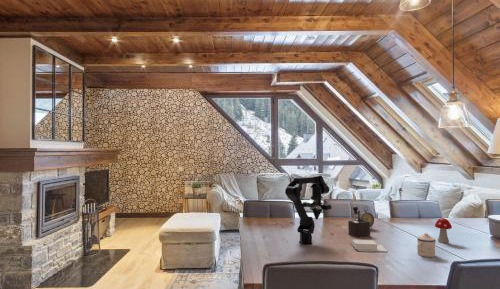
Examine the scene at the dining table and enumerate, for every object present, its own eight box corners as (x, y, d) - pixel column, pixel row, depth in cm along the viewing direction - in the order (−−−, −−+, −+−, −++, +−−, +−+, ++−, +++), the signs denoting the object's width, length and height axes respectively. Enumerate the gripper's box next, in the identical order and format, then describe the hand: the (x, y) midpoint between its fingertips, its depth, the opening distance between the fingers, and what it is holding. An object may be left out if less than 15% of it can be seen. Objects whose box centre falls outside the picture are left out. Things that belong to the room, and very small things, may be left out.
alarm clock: (361, 229, 262) (361, 207, 262) (357, 228, 267) (357, 206, 267) (374, 229, 265) (374, 206, 265) (370, 227, 270) (370, 205, 270)
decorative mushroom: (431, 241, 230) (431, 217, 230) (441, 240, 233) (441, 216, 233) (445, 244, 220) (444, 220, 221) (455, 243, 223) (455, 219, 224)
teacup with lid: (423, 251, 204) (423, 231, 205) (439, 255, 197) (439, 234, 197) (410, 254, 198) (410, 233, 198) (426, 259, 190) (425, 236, 191)
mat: (358, 251, 205) (358, 250, 205) (353, 244, 219) (353, 243, 219) (387, 252, 203) (387, 251, 203) (381, 245, 217) (381, 244, 217)
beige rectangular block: (355, 243, 207) (377, 244, 206) (352, 239, 217) (372, 240, 216) (355, 249, 207) (377, 249, 206) (352, 244, 217) (372, 245, 216)
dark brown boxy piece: (371, 236, 243) (371, 209, 243) (358, 237, 238) (358, 209, 238) (355, 231, 257) (355, 205, 257) (343, 232, 252) (343, 206, 253)
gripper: (297, 194, 232) (297, 219, 232) (321, 197, 219) (321, 223, 218) (307, 193, 240) (307, 216, 239) (332, 195, 226) (332, 220, 226)
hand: (316, 219), depth 231 cm, fingers closed
